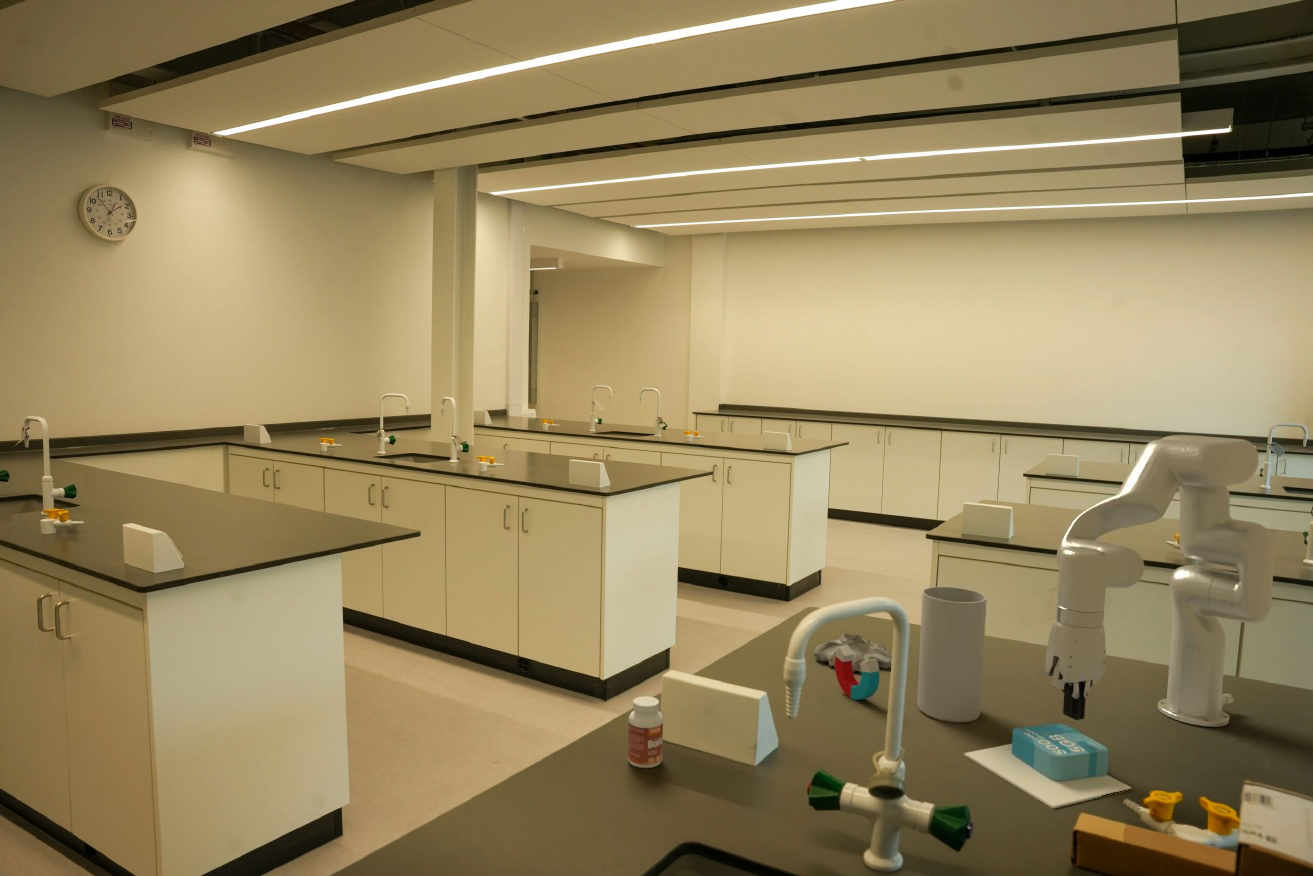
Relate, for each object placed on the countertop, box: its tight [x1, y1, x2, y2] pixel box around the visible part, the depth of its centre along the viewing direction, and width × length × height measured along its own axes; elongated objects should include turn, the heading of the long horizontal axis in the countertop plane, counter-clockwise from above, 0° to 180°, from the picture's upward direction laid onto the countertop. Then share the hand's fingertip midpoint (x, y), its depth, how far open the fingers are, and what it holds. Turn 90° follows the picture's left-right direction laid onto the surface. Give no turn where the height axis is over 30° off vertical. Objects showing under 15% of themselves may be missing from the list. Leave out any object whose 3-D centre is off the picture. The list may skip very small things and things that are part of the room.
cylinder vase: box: [916, 586, 987, 724], centre depth 171 cm, size 12×12×25 cm
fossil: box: [812, 633, 893, 673], centre depth 202 cm, size 18×11×15 cm
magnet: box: [834, 645, 881, 701], centre depth 178 cm, size 12×3×10 cm, turn 26°
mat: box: [963, 743, 1132, 810], centre depth 146 cm, size 18×20×1 cm
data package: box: [1011, 723, 1109, 781], centre depth 149 cm, size 12×4×12 cm
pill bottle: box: [627, 695, 664, 769], centre depth 147 cm, size 6×6×11 cm
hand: (1073, 716), depth 148 cm, fingers closed
